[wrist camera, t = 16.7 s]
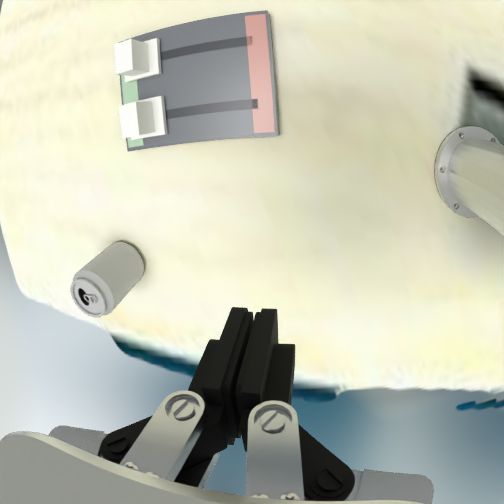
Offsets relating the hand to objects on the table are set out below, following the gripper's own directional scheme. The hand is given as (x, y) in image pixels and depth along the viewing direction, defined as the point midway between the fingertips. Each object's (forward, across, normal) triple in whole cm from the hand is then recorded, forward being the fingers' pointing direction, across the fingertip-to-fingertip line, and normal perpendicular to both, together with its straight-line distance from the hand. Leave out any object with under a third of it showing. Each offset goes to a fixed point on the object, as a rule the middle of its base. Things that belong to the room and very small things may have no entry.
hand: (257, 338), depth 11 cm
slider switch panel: (+29, +12, -14) cm, 34 cm away
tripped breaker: (+27, +18, -17) cm, 37 cm away
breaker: (+27, +17, -9) cm, 33 cm away
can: (+29, +27, +12) cm, 42 cm away
